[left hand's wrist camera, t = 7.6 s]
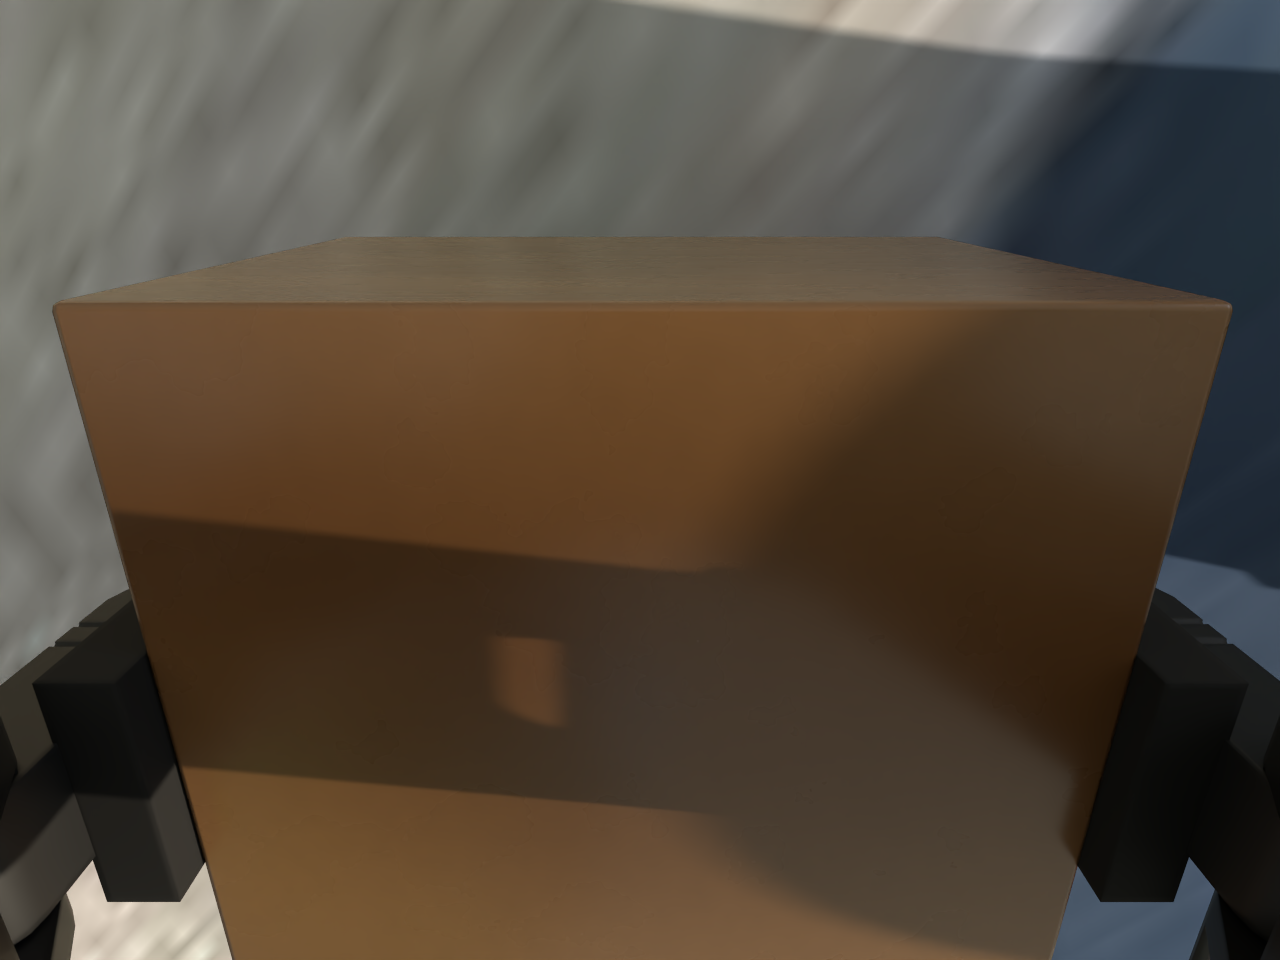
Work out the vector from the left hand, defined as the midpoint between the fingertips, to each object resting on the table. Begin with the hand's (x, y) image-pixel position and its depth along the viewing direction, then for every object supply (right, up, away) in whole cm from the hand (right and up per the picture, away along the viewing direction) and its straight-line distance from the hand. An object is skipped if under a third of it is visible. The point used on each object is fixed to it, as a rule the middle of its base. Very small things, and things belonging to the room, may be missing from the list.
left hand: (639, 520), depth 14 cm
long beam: (0, -29, +12) cm, 32 cm away
